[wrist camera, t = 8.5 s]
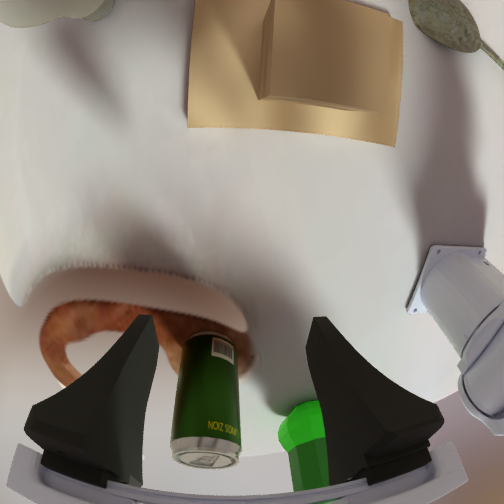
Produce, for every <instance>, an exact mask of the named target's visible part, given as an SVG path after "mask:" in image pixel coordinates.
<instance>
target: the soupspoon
mask: <svg viewBox="0 0 504 504" xmlns="http://www.w3.org/2000/svg"><path fill="white" fill-rule="evenodd" d="M409 9H410V13H411V16H412V19H413V21H414V23H415V25H416V26H417V27H418V28H419V29H420V30H422V31H423V32H424V33H425V34H427V35H428V36H430V37H431V38H433V39H435V40H436V41H438V42H440V43H441V44H443V45H445V46H447V47H449V48H452V49H454V50H457V51H460V52H465V53H472V52H476V51H477V50H478V49H479V48H481V49H482V50H483V51H484V52H486V53H487V54H488V55H489V56H490V57H491V58H492V59H493V60H494V61H495V62H496V63H497V64H498V65H499V66H500V67H501V68H502V69H503V70H504V62H503V61H502V60H501V59H500V58H499V57H498V56H497V55H496V54H495V53H494V52H493V51H492V50H491V49H490V48H489V47H488V46H487V45H486V44H485V43H484V42H483V41H482V40H481V39H480V34H479V30H478V27H477V24H476V22H475V20H474V18H473V16H472V15H471V13H470V12H469V10H468V9H467V7H466V6H465V5H464V4H463V3H462V2H461V1H460V0H409Z"/></svg>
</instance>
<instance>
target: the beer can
mask: <svg viewBox="0 0 504 504" xmlns="http://www.w3.org/2000/svg"><path fill="white" fill-rule="evenodd" d="M170 447H171V449H172V452H173V454H172V458H173V459H174V460H175V461H176V462H178V463H180V464H183V465H186V466H189V467H194V468H201V469H224V468H229V467H232V466H235V465H237V464H238V463H239V455H240V453H241V451H242V448H241V428H240V405H239V381H238V354H237V349H236V347H235V345H234V344H233V342H232V341H231V339H229V338H228V337H227V336H226V335H223V334H221V333H219V332H214V331H202V332H198V333H195V334H194V335H192V336H191V337H190V338H189V339H188V340H187V341H186V342H185V344H184V345H183V349H182V356H181V362H180V369H179V376H178V383H177V391H176V398H175V406H174V414H173V423H172V432H171V441H170Z"/></svg>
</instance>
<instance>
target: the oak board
mask: <svg viewBox="0 0 504 504" xmlns="http://www.w3.org/2000/svg"><path fill="white" fill-rule="evenodd" d="M270 1H271V0H195V8H194V18H193V28H192V40H191V53H190V69H189V89H188V120H187V128H203V127H216V128H252V129H269V130H283V131H294V132H304V133H313V134H321V135H329V136H336V137H343V138H349V139H355V140H361V141H367V142H372V143H377V144H382V145H387V146H392V147H395V143H396V136H397V128H398V119H399V109H400V98H401V84H402V62H403V24H402V22H401V21H399V20H396V19H394V18H391V17H389V20H390V54H389V79H388V94H387V105H386V114H381V113H371V112H360V111H346V110H339V109H333V108H327V107H320V106H313V105H305V104H297V103H288V102H277V101H264V100H258V99H259V82H260V66H261V50H262V33H263V20H264V18H265V15H266V12H267V9H268V7H269V4H270Z"/></svg>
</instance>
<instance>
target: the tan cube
mask: <svg viewBox="0 0 504 504" xmlns="http://www.w3.org/2000/svg"><path fill="white" fill-rule="evenodd" d="M389 54H390V20H389V14H386V13H384V12H381V11H378V10H375V9H372V8H369V7H366V6H362V5H359V4H356V3H352V2H349V1H345V0H271V1H270V4H269V7H268V9H267V12H266V15H265V18H264V20H263V33H262V50H261V66H260V82H259V99H258V100H264V101H277V102H288V103H297V104H305V105H313V106H320V107H327V108H333V109H339V110H346V111H360V112H371V113H381V114H386V105H387V94H388V79H389Z"/></svg>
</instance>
